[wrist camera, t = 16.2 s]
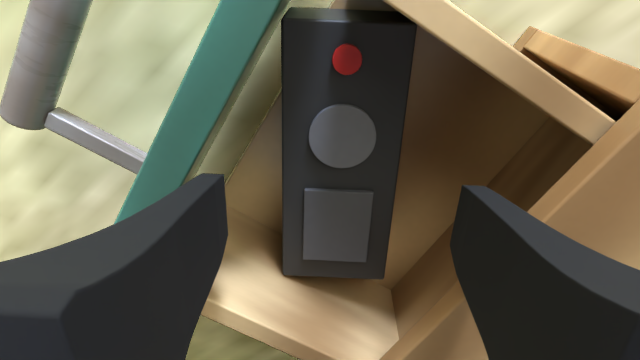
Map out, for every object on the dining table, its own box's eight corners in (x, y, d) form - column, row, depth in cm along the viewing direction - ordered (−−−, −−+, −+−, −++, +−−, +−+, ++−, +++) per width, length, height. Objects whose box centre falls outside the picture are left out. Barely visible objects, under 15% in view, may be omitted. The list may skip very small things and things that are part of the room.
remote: (288, 235, 20) (281, 279, 17) (289, 6, 15) (279, 18, 13) (378, 239, 20) (385, 284, 17) (404, 11, 15) (419, 24, 13)
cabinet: (330, 272, 23) (328, 429, 16) (529, 25, 17) (683, 85, 10) (523, 370, 26) (600, 542, 19) (749, 189, 20) (997, 333, 13)
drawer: (52, 131, 19) (-79, 215, 13) (174, -216, 14) (47, -349, 7) (383, 300, 23) (401, 425, 17) (582, 83, 17) (714, 154, 11)
